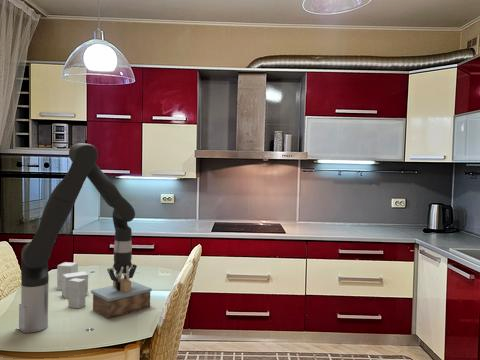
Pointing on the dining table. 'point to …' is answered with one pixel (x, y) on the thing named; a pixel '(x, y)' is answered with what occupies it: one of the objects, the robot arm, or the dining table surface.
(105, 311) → the box
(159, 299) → the dining table surface
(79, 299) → the skincare box
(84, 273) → the skincare box
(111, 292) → the lid
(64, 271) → the supplement box
